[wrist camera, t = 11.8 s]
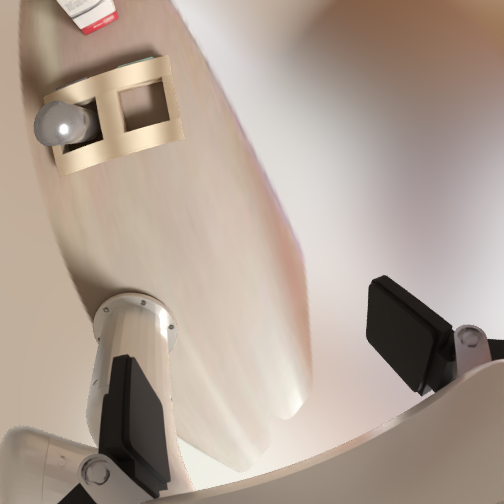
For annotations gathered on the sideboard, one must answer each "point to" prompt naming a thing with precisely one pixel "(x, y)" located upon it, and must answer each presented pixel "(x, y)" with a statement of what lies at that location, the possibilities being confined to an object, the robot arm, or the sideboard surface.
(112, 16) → the ink box
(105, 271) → the sideboard surface
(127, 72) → the socket block
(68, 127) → the peg
